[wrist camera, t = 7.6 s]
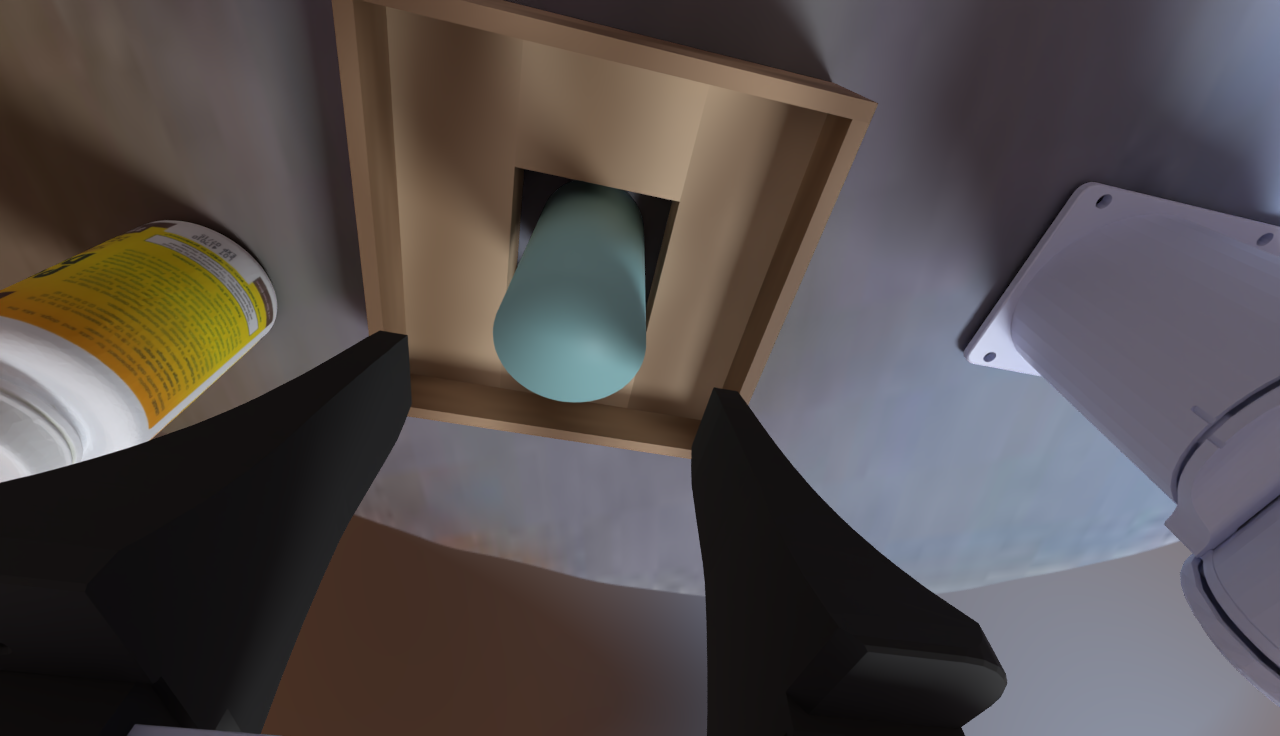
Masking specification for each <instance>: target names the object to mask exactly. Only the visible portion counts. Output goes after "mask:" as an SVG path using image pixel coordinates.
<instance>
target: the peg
mask: <svg viewBox="0 0 1280 736" xmlns="http://www.w3.org/2000/svg"><path fill="white" fill-rule="evenodd" d="M493 341H494V346H495V350H496V353H497V355H498V357H499V359H500V361H501V363H502V365H503V366H504V368H505V369H506V370H507V372H508V373H509V374H510V375H511V376H512V377H513V378H514V379H515V380H516V381H517V382H518V383H520V384H521V385H522V386H524V387H525V388H527V389H528V390H530V391H532V392H534V393H536V394H538V395H541V396H543V397H546V398H549V399H553V400H557V401H562V402H588V401H593V400H598V399H601V398H604V397H607V396H609V395H611V394H613V393H615V392H617V391H619V390H620V389H622V388H623V387H624V386H625V385H627V384H628V383H629V382H630V381H631V380H632V379H633V378H634V376H635V375H636V374H637V372H638V371H639V369H640V367H641V365H642V363H643V360H644V357H645V351H646V305H645V255H644V224H643V219H642V215H641V213H640V210H639V208H638V206H637V205H636V203H635V201H634V200H633V199H632V198H631V196H630V195H629V194H627V193H626V192H625V191H624V190H622V189H617V188H612V187H608V186H603V185H598V184H593V183H589V182H584V181H579V180H574V181H571V182H569V183H567V184H565V185H563V186H562V187H560V188H559V189H558V190H556V191H555V192H554V193H553V194H552V195H551V197H550V198H549V199H548V201H547V203H546V205H545V207H544V209H543V211H542V213H541V216H540V218H539V220H538V222H537V224H536V227H535V229H534V231H533V233H532V236H531V238H530V240H529V242H528V244H527V247H526V249H525V251H524V253H523V256H522V258H521V260H520V262H519V264H518V267H517V269H516V271H515V273H514V276H513V278H512V280H511V282H510V284H509V287H508V289H507V291H506V293H505V296H504V298H503V300H502V302H501V304H500V307H499V309H498V311H497V313H496V316H495V320H494V325H493Z"/></svg>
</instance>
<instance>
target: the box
mask: <svg viewBox="0 0 1280 736" xmlns="http://www.w3.org/2000/svg"><path fill="white" fill-rule="evenodd" d="M332 9H333V17H334V26H335V35H336V44H337V53H338V62H339V71H340V80H341V89H342V98H343V107H344V116H345V125H346V133H347V142H348V151H349V160H350V169H351V178H352V187H353V196H354V205H355V214H356V223H357V232H358V241H359V249H360V258H361V267H362V276H363V285H364V294H365V303H366V312H367V321H368V330H369V336H370V335H372V334H374V333H376V332H378V331H380V330H381V331H387V332H393V333H399V334H404V335H408V347H409V363H410V380H411V396H412V405H411V407H410V410H409V412H408V415H407V416H409V417H416V418H423V419H429V420H436V421H443V422H449V423H456V424H462V425H469V426H476V427H482V428H489V429H496V430H502V431H509V432H515V433H522V434H529V435H535V436H542V437H549V438H555V439H562V440H568V441H575V442H582V443H588V444H595V445H602V446H608V447H615V448H622V449H628V450H635V451H641V452H648V453H655V454H661V455H668V456H675V457H681V458H688V459H691V447H692V444H693V441H694V439H695V436H696V433H697V431H698V428H699V425H700V422H701V420H702V417H703V414H704V412H705V409H706V406H707V404H708V401H709V398H710V396H711V393H712V390H713V388H714V387H715V388H721V389H727V390H733V391H738V392H739V394H740V395H741V396H742V398H743V399H744V400H745V402H746V403H747V405H748V404H749V402H750V399H751V397H752V395H753V392H754V390H755V388H756V385H757V383H758V381H759V378H760V376H761V374H762V372H763V369H764V367H765V365H766V362H767V360H768V358H769V355H770V353H771V351H772V348H773V346H774V344H775V341H776V339H777V337H778V334H779V332H780V330H781V328H782V325H783V323H784V321H785V318H786V316H787V314H788V311H789V309H790V307H791V304H792V302H793V300H794V297H795V295H796V293H797V290H798V288H799V286H800V284H801V281H802V279H803V277H804V274H805V272H806V270H807V267H808V265H809V263H810V260H811V258H812V256H813V253H814V251H815V249H816V246H817V244H818V242H819V239H820V237H821V235H822V233H823V230H824V228H825V226H826V223H827V221H828V219H829V216H830V214H831V212H832V209H833V207H834V205H835V202H836V200H837V198H838V195H839V193H840V191H841V189H842V186H843V184H844V182H845V179H846V177H847V175H848V172H849V170H850V168H851V165H852V163H853V161H854V158H855V156H856V154H857V151H858V149H859V147H860V145H861V142H862V140H863V138H864V135H865V133H866V131H867V128H868V126H869V124H870V121H871V119H872V117H873V114H874V112H875V110H876V107H877V105H878V103H876V102H874V101H872V100H870V99H867V98H865V97H863V96H861V95H859V94H857V93H854V92H852V91H850V90H848V89H846V88H844V87H841V86H839V85H837V84H835V83H832V82H828V81H824V80H820V79H816V78H812V77H808V76H804V75H800V74H796V73H792V72H788V71H784V70H780V69H776V68H772V67H768V66H764V65H760V64H756V63H752V62H748V61H744V60H740V59H736V58H732V57H728V56H724V55H720V54H716V53H712V52H708V51H704V50H700V49H696V48H692V47H688V46H684V45H680V44H676V43H672V42H668V41H664V40H660V39H656V38H652V37H648V36H644V35H640V34H636V33H632V32H628V31H624V30H620V29H616V28H612V27H608V26H604V25H600V24H596V23H592V22H588V21H584V20H580V19H576V18H572V17H568V16H564V15H560V14H556V13H552V12H548V11H544V10H540V9H536V8H532V7H528V6H524V5H520V4H516V3H512V2H508V1H504V0H332ZM524 169H527V170H532V171H537V172H542V173H546V174H551V175H556V176H560V177H565V178H570V179H575V180H579V181H584V182H589V183H593V184H598V185H603V186H608V187H612V188H617V189H622V190H626V191H631V192H636V193H641V194H645V195H650V196H655V197H660V198H664V199H669V200H672V204H671V208H670V212H669V216H668V220H667V224H666V228H665V232H664V236H663V240H662V244H661V248H660V253H659V257H658V261H657V265H656V269H655V273H654V277H653V281H652V285H651V289H650V293H649V297H648V301H647V305H646V351H645V357H644V360H643V363H642V365H641V367H640V369H639V371H638V372H637V374H636V375H635V376H634V378H633V379H632V380H631V381H630V382H629V383H628V384H627V385H625V386H624V387H623V388H622V389H620V390H619V391H617V392H615V393H613V394H611V395H609V396H607V397H604V398H601V399H598V400H593V401H588V402H562V401H557V400H553V399H549V398H546V397H543V396H541V395H538V394H536V393H534V392H532V391H530V390H528V389H527V388H525V387H524V386H522V385H521V384H520V383H518V382H517V381H516V380H515V379H514V378H513V377H512V376H511V375H510V374H509V373H508V372H507V370H506V369H505V368H504V366H503V365H502V363H501V361H500V359H499V357H498V355H497V353H496V350H495V346H494V341H493V325H494V320H495V316H496V313H497V311H498V309H499V307H500V304H501V302H502V300H503V298H504V296H505V293H506V291H507V289H508V287H509V284H510V282H511V280H512V278H513V276H514V273H515V271H516V269H517V258H518V245H519V232H520V219H521V206H522V193H523V180H524Z"/></svg>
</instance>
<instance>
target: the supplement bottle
mask: <svg viewBox="0 0 1280 736" xmlns="http://www.w3.org/2000/svg"><path fill="white" fill-rule="evenodd" d="M276 314H277V299H276V294H275V291H274V288H273V286H272V283H271V281H270V279H269V277H268V276H267V274H266V272H265V271H264V270H263V268H262V267H261V266H260V264H259V263H258V262H257V261H256V260H255V259H254V258H253V257H252V256H251V255H250V254H249V253H248V252H247V251H246V250H244V249H243V248H242V247H241V246H239V245H238V244H236V243H235V242H234V241H232V240H231V239H229V238H227V237H226V236H224V235H222V234H220V233H218V232H216V231H214V230H211V229H209V228H207V227H204V226H201V225H198V224H194V223H190V222H184V221H175V220H163V221H155V222H151V223H147V224H144V225H142V226H139V227H137V228H135V229H132V230H130V231H128V232H126V233H123V234H121V235H119V236H117V237H115V238H113V239H110V240H108V241H106V242H104V243H102V244H100V245H97V246H95V247H93V248H91V249H89V250H87V251H84V252H82V253H80V254H78V255H76V256H73V257H71V258H69V259H67V260H65V261H63V262H61V263H58V264H57V265H55V266H52V267H50V268H48V269H45V270H43V271H41V272H39V273H37V274H35V275H33V276H30V277H28V278H26V279H24V280H22V281H20V282H18V283H16V284H14V285H12V286H9V287H7V288H5V289H3V290H1V291H0V482H5V481H9V480H13V479H17V478H22V477H26V476H30V475H34V474H38V473H42V472H46V471H50V470H54V469H57V468H61V467H65V466H68V465H72V464H75V463H79V462H82V461H86V460H90V459H93V458H97V457H100V456H103V455H106V454H110V453H113V452H116V451H120V450H123V449H126V448H129V447H132V446H135V445H138V444H141V443H144V442H147V441H150V440H151V439H152V438H153V437H154V436H155V435H156V434H158V433H159V432H160V431H161V430H162V429H163V428H164V427H166V426H167V425H168V424H169V423H170V422H171V421H172V420H173V419H174V418H176V417H177V416H178V415H179V414H180V413H181V412H182V411H184V410H185V409H186V408H187V407H188V406H189V405H190V404H191V403H192V402H193V401H194V400H195V399H197V398H198V397H199V396H200V395H201V394H202V393H203V392H204V391H205V390H206V389H207V388H209V387H210V386H211V385H212V384H213V383H214V382H215V381H216V380H217V379H218V378H219V377H221V376H222V375H223V374H224V373H225V372H226V371H227V370H228V369H229V368H230V367H231V366H233V365H234V364H235V363H236V362H237V361H238V360H239V359H240V358H241V357H242V356H243V355H245V354H246V353H247V352H248V351H249V350H250V349H251V348H252V347H253V346H254V345H255V344H256V343H258V342H259V341H260V340H261V339H262V338H263V337H264V336H265V335H266V334H267V333H268V331H269V330H270V329H271V327H272V326H273V324H274V322H275V318H276Z"/></svg>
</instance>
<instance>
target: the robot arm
mask: <svg viewBox="0 0 1280 736" xmlns="http://www.w3.org/2000/svg"><path fill="white" fill-rule="evenodd" d="M1103 195H1104V198H1103V200H1102V201H1101V202H1100V203H1098V204H1096V202H1097V200H1098V199H1099V198H1100V197H1101V196H1103ZM990 352H991V353H990ZM987 353H990V354H989V355H988V356H985V355H986V354H987ZM984 356H985V357H984ZM964 357H965V358H966V359H967V360H968V362H970V363H972V364H977V365H983V366H988V367H993V368H999V369H1004V370H1009V371H1015V372H1020V373H1025V374H1031V375H1036V376H1042V377H1043V378H1044V379H1045V380H1046V381H1047V382H1048V383H1050V384H1051V385H1052V386H1053V387H1054V388H1055V389H1056V390H1057V391H1058V392H1059V393H1060V394H1061V395H1062V396H1063V397H1064V398H1065V399H1066V400H1067V401H1068V402H1069V403H1071V404H1072V405H1073V406H1074V407H1075V408H1076V409H1077V410H1078V411H1079V412H1080V413H1081V414H1082V415H1083V416H1084V417H1085V418H1086V419H1087V420H1088V421H1089V422H1090V423H1092V424H1093V425H1094V426H1095V427H1096V428H1097V429H1098V430H1099V431H1100V432H1101V433H1102V434H1103V435H1104V436H1105V437H1106V438H1107V439H1108V440H1109V441H1110V442H1111V443H1113V444H1114V445H1115V446H1116V447H1117V448H1118V449H1119V450H1120V451H1121V452H1122V453H1123V454H1124V455H1125V456H1126V457H1127V458H1128V459H1129V460H1130V461H1131V462H1132V463H1134V464H1135V465H1136V466H1137V467H1138V468H1139V469H1140V470H1141V471H1142V472H1143V473H1144V474H1145V475H1146V476H1147V477H1148V478H1149V479H1150V480H1151V481H1152V482H1153V483H1155V484H1156V485H1157V486H1158V487H1159V488H1160V489H1161V490H1162V491H1163V492H1164V493H1165V494H1166V495H1167V496H1168V497H1169V498H1170V499H1171V500H1172V501H1173V502H1174V503H1176V504H1177V507H1176V509H1175V511H1174V512H1173V514H1172V515H1171V516H1170V517H1169V518H1168V519H1167V520H1166V521H1165V523H1164V525H1165V526H1166V527H1167V528H1168V529H1169V530H1170V531H1171V532H1172V533H1173V534H1174V535H1175V536H1176V537H1177V538H1178V539H1179V540H1180V541H1181V542H1182V543H1183V544H1184V545H1185V546H1186V547H1187V548H1188V549H1189V550H1190V551H1191V552H1192V553H1193V554H1192V555H1190V556H1189V557H1188V558H1187V560H1186V561H1185V562H1184V564H1183V567H1182V569H1181V572H1180V577H1181V586H1182V589H1183V592H1184V596H1185V598H1186V600H1187V602H1188V604H1189V606H1190V608H1191V610H1192V612H1193V614H1194V616H1195V617H1196V618H1197V620H1198V621H1199V623H1200V624H1201V626H1202V628H1203V629H1204V631H1205V632H1206V634H1207V635H1208V637H1209V638H1210V640H1211V641H1212V642H1213V644H1214V645H1215V646H1216V647H1217V649H1218V650H1219V651H1220V652H1221V654H1222V655H1223V656H1224V657H1225V658H1226V659H1227V660H1228V661H1229V662H1230V663H1231V665H1232V666H1233V667H1234V668H1235V669H1236V670H1237V671H1238V672H1240V674H1241V675H1242V676H1244V677H1245V678H1246V679H1247V680H1248V681H1249V682H1250V683H1251V684H1252V685H1253V686H1255V687H1256V688H1257V689H1258V690H1259V691H1260V692H1261V693H1263V694H1264V695H1265V696H1266V697H1267V698H1269V699H1270V700H1271V701H1272V702H1274V703H1275V704H1276V705H1277V706H1279V707H1280V226H1275V225H1271V224H1267V223H1263V222H1259V221H1255V220H1251V219H1246V218H1242V217H1238V216H1234V215H1230V214H1226V213H1221V212H1217V211H1213V210H1209V209H1205V208H1201V207H1197V206H1192V205H1188V204H1184V203H1180V202H1176V201H1172V200H1167V199H1163V198H1159V197H1155V196H1151V195H1147V194H1142V193H1138V192H1134V191H1130V190H1126V189H1122V188H1118V187H1113V186H1109V185H1105V184H1101V183H1097V182H1088V183H1085V184H1083V185H1081V186H1080V187H1078V188H1077V189H1076V190H1075V192H1074V193H1073V194H1072V195H1071V197H1070V198H1069V200H1068V201H1067V203H1066V204H1065V206H1064V207H1063V208H1062V210H1061V211H1060V213H1059V214H1058V216H1057V217H1056V219H1055V220H1054V221H1053V223H1052V224H1051V226H1050V227H1049V229H1048V230H1047V232H1046V233H1045V234H1044V236H1043V237H1042V239H1041V240H1040V242H1039V243H1038V245H1037V246H1036V247H1035V249H1034V250H1033V252H1032V253H1031V255H1030V256H1029V258H1028V259H1027V260H1026V262H1025V263H1024V265H1023V266H1022V268H1021V269H1020V270H1019V272H1018V273H1017V275H1016V276H1015V278H1014V279H1013V281H1012V282H1011V283H1010V285H1009V286H1008V288H1007V289H1006V291H1005V292H1004V294H1003V295H1002V296H1001V298H1000V299H999V301H998V302H997V304H996V305H995V307H994V308H993V309H992V311H991V312H990V314H989V315H988V317H987V318H986V320H985V321H984V322H983V324H982V325H981V327H980V328H979V330H978V331H977V333H976V334H975V335H974V337H973V338H972V340H971V341H970V343H969V344H968V346H967V347H966V348H965V350H964ZM411 405H412V396H411V380H410V363H409V347H408V335H404V334H399V333H393V332H387V331H381V330H380V331H378V332H376V333H374V334H372V335H370V336H369V337H367V338H365V339H363V340H362V341H360V342H358V343H357V344H355V345H353V346H352V347H350V348H348V349H346V350H345V351H343V352H341V353H340V354H338V355H336V356H334V357H333V358H331V359H329V360H327V361H326V362H324V363H322V364H320V365H319V366H317V367H315V368H313V369H312V370H310V371H308V372H306V373H304V374H303V375H301V376H299V377H297V378H295V379H293V380H291V381H289V382H287V383H285V384H283V385H281V386H279V387H277V388H275V389H273V390H271V391H269V392H267V393H266V394H264V395H262V396H260V397H258V398H256V399H253V400H251V401H249V402H247V403H245V404H243V405H240V406H238V407H236V408H234V409H231V410H229V411H226V412H224V413H222V414H219V415H217V416H214V417H212V418H210V419H207V420H205V421H202V422H200V423H197V424H195V425H192V426H189V427H187V428H184V429H181V430H178V431H175V432H172V433H169V434H167V435H164V436H161V437H158V438H155V439H152V440H150V441H147V442H144V443H141V444H138V445H135V446H132V447H129V448H126V449H123V450H120V451H116V452H113V453H110V454H106V455H103V456H100V457H97V458H93V459H90V460H86V461H82V462H79V463H75V464H72V465H68V466H65V467H61V468H57V469H54V470H50V471H46V472H42V473H38V474H34V475H30V476H26V477H22V478H17V479H13V480H9V481H5V482H0V736H278V735H266V734H261V731H262V728H263V726H264V723H265V720H266V718H267V715H268V712H269V710H270V707H271V704H272V702H273V699H274V696H275V693H276V691H277V688H278V685H279V682H280V680H281V677H282V675H283V672H284V670H285V667H286V665H287V662H288V660H289V657H290V655H291V652H292V650H293V647H294V645H295V642H296V640H297V637H298V635H299V632H300V629H301V627H302V624H303V622H304V620H305V617H306V615H307V613H308V610H309V608H310V606H311V603H312V601H313V599H314V596H315V594H316V591H317V589H318V587H319V585H320V582H321V580H322V578H323V576H324V573H325V571H326V569H327V567H328V565H329V562H330V560H331V558H332V555H333V554H334V551H335V549H336V547H337V544H338V543H339V540H340V538H341V536H342V535H343V533H344V531H345V529H346V527H347V525H348V523H349V521H350V520H351V518H352V516H353V515H354V513H355V511H356V510H357V508H358V506H359V504H360V503H361V501H362V499H363V498H364V496H365V494H366V493H367V491H368V489H369V488H370V486H371V484H372V482H373V481H374V479H375V477H376V476H377V474H378V472H379V471H380V469H381V467H382V465H383V464H384V462H385V460H386V459H387V457H388V455H389V453H390V452H391V450H392V448H393V446H394V445H395V443H396V441H397V439H398V437H399V434H400V432H401V430H402V427H403V425H404V422H405V420H406V417H407V415H408V412H409V410H410V407H411ZM691 476H692V490H693V498H694V505H695V512H696V519H697V526H698V533H699V540H700V547H701V554H702V561H703V568H704V579H705V595H706V620H707V660H708V661H707V667H708V716H707V736H965V735H964V732H963V730H962V728H961V727H962V726H963V725H965V724H966V723H967V722H969V721H970V720H972V719H973V718H975V717H976V716H977V715H979V714H980V713H982V712H983V711H985V710H986V709H987V708H989V707H990V706H991V705H992V704H994V703H995V702H996V701H997V700H998V699H999V698H1000V697H1001V695H1002V693H1003V691H1004V689H1005V687H1006V685H1007V679H1006V673H1005V672H1004V670H1003V668H1002V666H1001V664H1000V662H999V660H998V659H997V657H996V655H995V653H994V651H993V649H992V647H991V645H990V644H989V642H988V640H987V638H986V636H985V634H984V632H983V631H982V629H981V627H980V625H979V624H978V623H977V622H976V621H974V620H973V619H971V618H970V617H968V616H967V615H965V614H964V613H962V612H961V611H959V610H958V609H956V608H955V607H953V606H952V605H950V604H949V603H947V602H946V601H944V600H943V599H941V598H940V597H938V596H937V595H935V594H934V593H932V592H931V591H930V590H928V589H927V588H925V587H924V586H923V585H921V584H920V583H919V582H917V581H916V580H915V579H913V578H912V577H911V576H909V575H908V574H907V573H905V572H904V571H903V570H901V569H900V568H899V567H897V566H896V565H895V564H894V563H892V562H891V561H890V560H889V559H887V558H886V557H885V556H884V555H882V554H881V553H880V552H879V551H878V550H876V549H875V548H874V547H873V546H872V545H871V544H869V543H868V542H867V541H866V540H865V539H864V538H863V537H861V536H860V535H859V534H858V533H857V532H856V531H855V530H853V529H852V528H851V527H850V526H849V525H848V524H847V523H846V522H845V521H844V520H843V519H842V518H841V517H840V516H839V515H838V514H837V513H836V512H835V511H834V510H833V509H832V508H831V507H830V506H829V505H828V504H827V503H826V502H825V501H824V500H823V499H822V498H821V497H820V496H819V495H818V494H817V493H816V492H815V491H814V490H813V489H812V487H811V486H810V485H809V484H808V483H807V482H806V481H805V479H804V478H803V477H802V476H801V475H800V474H799V472H798V471H797V470H796V469H795V468H794V467H793V465H792V464H791V463H790V462H789V460H788V459H787V458H786V457H785V455H784V454H783V453H782V451H781V450H780V449H779V448H778V446H777V445H776V444H775V442H774V441H773V440H772V438H771V437H770V436H769V434H768V433H767V431H766V430H765V429H764V427H763V426H762V425H761V423H760V422H759V420H758V419H757V418H756V416H755V415H754V413H753V412H752V410H751V409H750V408H749V406H748V405H747V403H746V402H745V400H744V399H743V398H742V396H741V395H740V394H739V392H738V391H733V390H727V389H721V388H715V387H714V388H713V390H712V393H711V396H710V398H709V401H708V404H707V406H706V409H705V412H704V414H703V417H702V420H701V422H700V425H699V428H698V431H697V433H696V436H695V439H694V441H693V444H692V447H691Z"/></svg>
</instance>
